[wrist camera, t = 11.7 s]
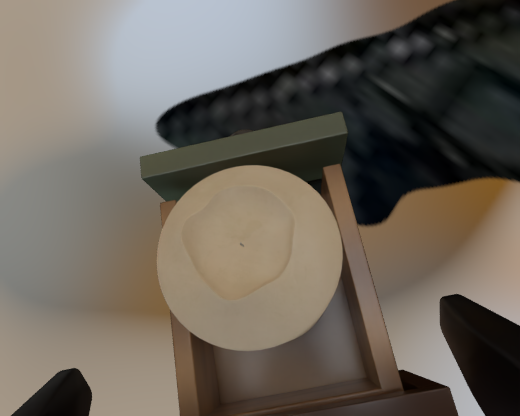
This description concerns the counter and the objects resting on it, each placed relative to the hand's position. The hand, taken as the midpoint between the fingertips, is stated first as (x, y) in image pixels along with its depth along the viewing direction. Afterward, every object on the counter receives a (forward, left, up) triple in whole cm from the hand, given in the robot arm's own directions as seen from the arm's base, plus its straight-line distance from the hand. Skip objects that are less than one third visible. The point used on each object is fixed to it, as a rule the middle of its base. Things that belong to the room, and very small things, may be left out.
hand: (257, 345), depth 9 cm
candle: (+2, +1, -10) cm, 10 cm away
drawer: (+3, +2, -11) cm, 11 cm away
